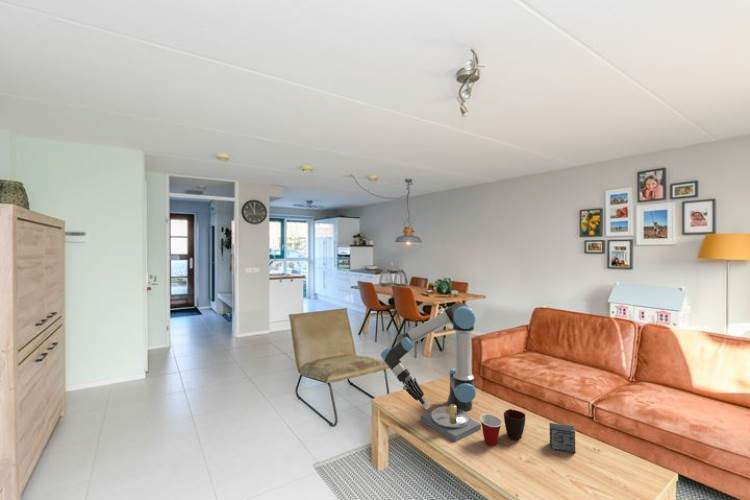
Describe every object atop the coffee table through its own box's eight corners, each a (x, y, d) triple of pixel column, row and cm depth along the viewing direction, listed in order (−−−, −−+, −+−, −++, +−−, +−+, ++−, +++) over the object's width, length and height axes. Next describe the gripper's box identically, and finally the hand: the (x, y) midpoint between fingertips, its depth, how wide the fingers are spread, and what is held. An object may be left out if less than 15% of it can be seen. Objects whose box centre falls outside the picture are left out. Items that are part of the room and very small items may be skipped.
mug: (501, 437, 180) (501, 414, 180) (511, 426, 191) (511, 405, 190) (521, 444, 174) (521, 421, 174) (530, 433, 184) (530, 410, 184)
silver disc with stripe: (436, 407, 206) (436, 388, 206) (471, 414, 198) (471, 394, 198) (427, 424, 188) (427, 403, 188) (465, 432, 180) (465, 410, 180)
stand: (420, 420, 198) (420, 415, 198) (445, 410, 210) (445, 405, 210) (455, 441, 177) (455, 435, 177) (480, 429, 188) (480, 423, 188)
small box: (572, 446, 172) (572, 425, 172) (575, 453, 166) (575, 432, 166) (549, 442, 176) (549, 421, 176) (551, 449, 170) (551, 428, 169)
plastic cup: (493, 451, 168) (493, 427, 168) (475, 441, 177) (475, 418, 177) (507, 444, 174) (507, 420, 174) (488, 434, 183) (488, 412, 183)
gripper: (402, 372, 207) (428, 406, 199) (391, 380, 196) (419, 416, 188) (410, 365, 204) (437, 399, 196) (399, 372, 193) (428, 409, 185)
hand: (428, 408), depth 192 cm, fingers closed
